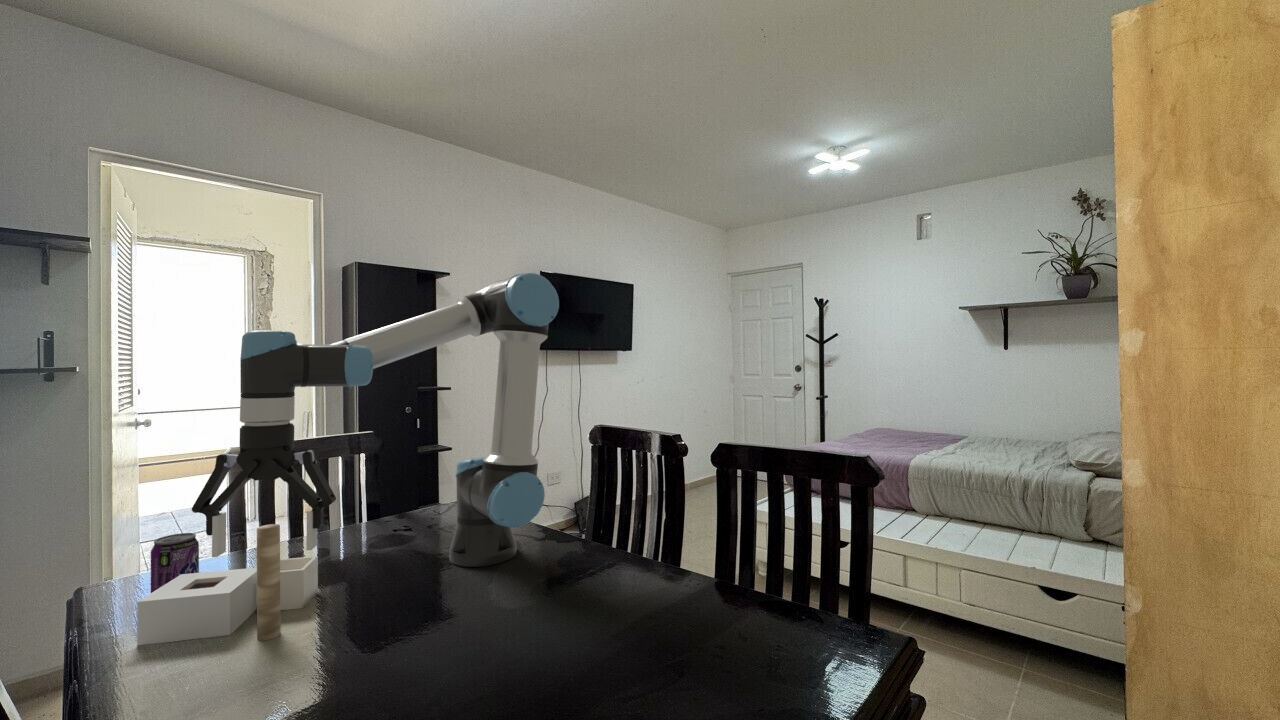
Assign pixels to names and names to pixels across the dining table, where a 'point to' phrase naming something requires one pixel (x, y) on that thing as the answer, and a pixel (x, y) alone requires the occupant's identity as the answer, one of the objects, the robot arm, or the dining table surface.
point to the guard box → (197, 606)
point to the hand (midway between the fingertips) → (266, 551)
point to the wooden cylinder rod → (268, 582)
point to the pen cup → (298, 581)
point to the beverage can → (173, 558)
